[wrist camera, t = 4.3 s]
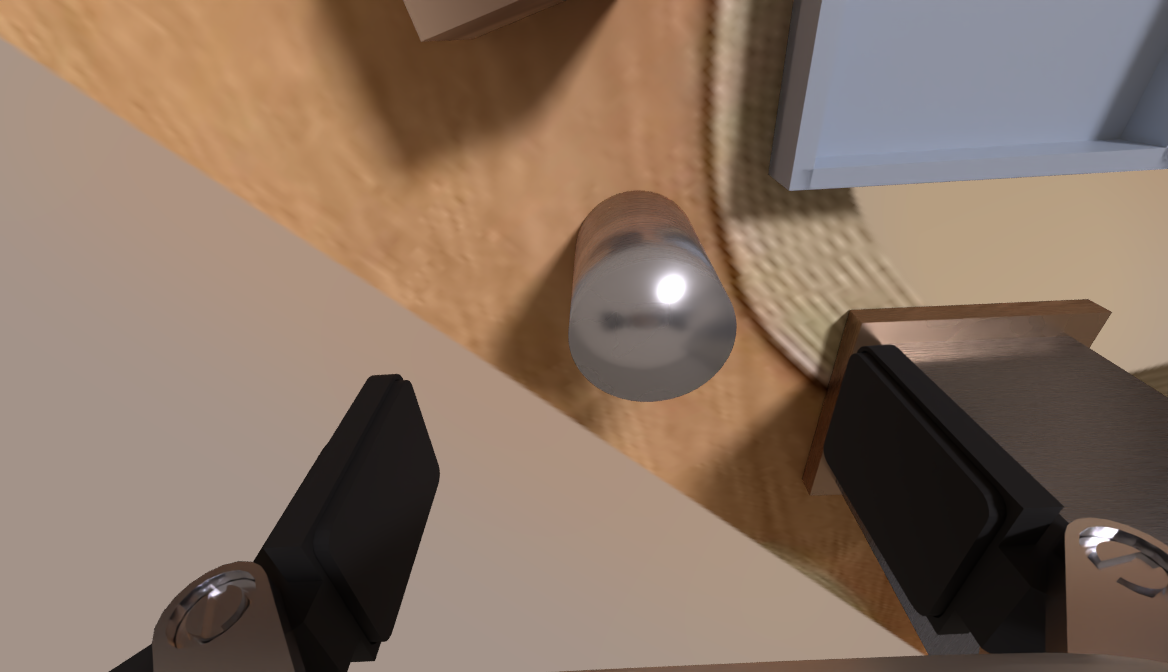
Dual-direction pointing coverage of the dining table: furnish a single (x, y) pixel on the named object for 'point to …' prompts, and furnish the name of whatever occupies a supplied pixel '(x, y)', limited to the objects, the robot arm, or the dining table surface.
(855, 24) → the tray
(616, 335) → the metal cylinder
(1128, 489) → the box with rectangular openings
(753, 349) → the dining table surface
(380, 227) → the dining table surface
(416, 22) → the block
